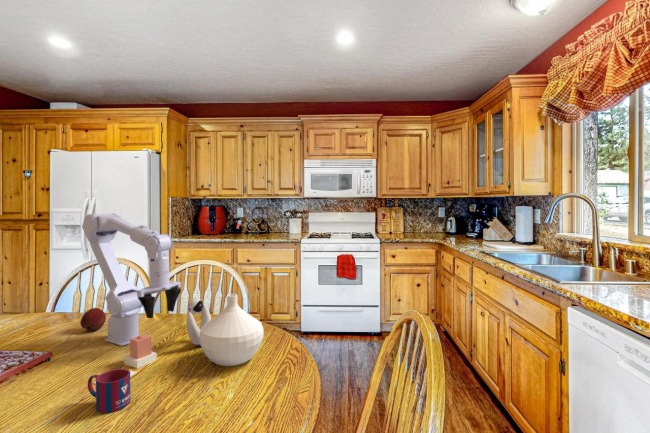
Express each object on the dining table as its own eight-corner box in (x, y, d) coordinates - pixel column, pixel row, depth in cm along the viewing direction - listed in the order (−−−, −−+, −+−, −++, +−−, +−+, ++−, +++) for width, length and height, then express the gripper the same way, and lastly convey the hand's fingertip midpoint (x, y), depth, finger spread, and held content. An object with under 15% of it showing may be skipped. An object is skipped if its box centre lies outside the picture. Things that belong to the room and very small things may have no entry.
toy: (199, 352, 107) (199, 304, 107) (178, 350, 109) (178, 302, 108) (217, 338, 118) (217, 295, 118) (198, 337, 120) (198, 293, 119)
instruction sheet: (93, 383, 88) (93, 382, 88) (120, 369, 96) (120, 368, 96) (111, 387, 87) (111, 386, 87) (137, 372, 94) (137, 371, 94)
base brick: (124, 365, 99) (123, 356, 99) (143, 357, 105) (143, 348, 105) (137, 370, 97) (137, 361, 97) (156, 361, 102) (156, 353, 102)
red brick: (130, 355, 100) (130, 337, 100) (144, 350, 103) (143, 332, 103) (137, 359, 98) (137, 340, 98) (151, 353, 101) (151, 335, 101)
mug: (111, 416, 75) (110, 385, 75) (78, 407, 78) (77, 377, 78) (137, 399, 81) (136, 371, 81) (105, 392, 84) (105, 364, 84)
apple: (110, 329, 127) (109, 307, 126) (86, 335, 120) (86, 312, 120) (100, 325, 131) (99, 304, 130) (76, 331, 124) (76, 309, 124)
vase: (185, 367, 98) (185, 299, 97) (225, 343, 115) (225, 285, 114) (241, 379, 91) (241, 307, 91) (274, 351, 108) (274, 290, 108)
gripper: (147, 277, 103) (148, 322, 103) (186, 269, 116) (187, 309, 116) (131, 275, 106) (133, 319, 106) (172, 267, 119) (173, 307, 119)
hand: (160, 314), depth 111 cm, fingers open, 7 cm apart
